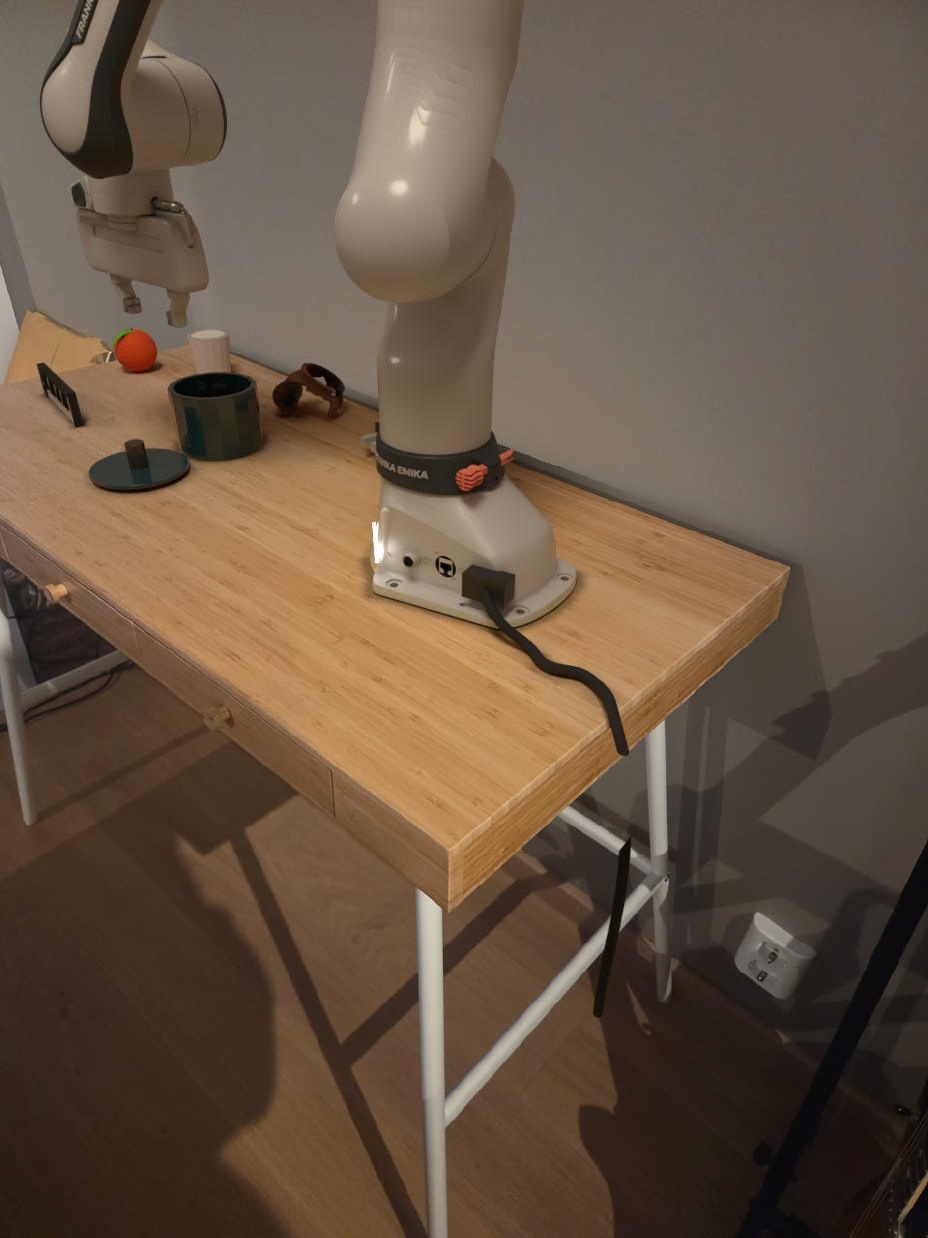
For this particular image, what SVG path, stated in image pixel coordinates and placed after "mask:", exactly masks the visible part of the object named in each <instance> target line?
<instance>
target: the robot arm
mask: <svg viewBox="0 0 928 1238" xmlns="http://www.w3.org/2000/svg"><path fill="white" fill-rule="evenodd" d="M165 2H166V0H78V1H77V3H76V6H75V10H74V13H73V16H72V19H71V21H70V24H69V27H68V28H67V29H66V33H65V37H64V40H63V42H62V45H61V46H60V47H59V49H58V51H57V52H56V54H55V55H54V57H53V59H52V60H51V62H50V64H49V66H48V68H47V70H46V72H45V74H44V77H43V80H42V84H41V87H40V93H39V111H40V117H41V121H42V125H43V128H44V130H45V133H46V135H47V137H48V139H49V141H50V142H51V144H52V145H53V146H54V147H55V148H56V150H57V151H58V152H59V153H60V155H62V157H63V158H65V160H67V161H68V162H69V163H70V164H71V165H72V166H73V167H75V168H76V169H78V170H79V171H81V172H82V173H83V174H85V175H84V176H83V177H81V178H80V179H78V180H76V181H75V182H73V183H71V184H70V185H69V186H68V187H67V192H68V197H69V201H70V203H71V204H72V206H73V207H76V208H77V209H76V213H75V214H76V216H75V217H76V223H77V228H78V233H79V236H80V241H81V245H82V249H83V251H84V255H85V258H86V261H87V262H88V263H89V265H90V267H91V268H92V270H95V271H98V272H101V273H105V274H109V277H110V282H111V284H112V286H113V288H114V290H115V292H116V293H117V295H118V297H119V298H120V303H121V307H122V311H123V312H124V313H125V314H130V315H135V314H141V312H142V310H143V308H142V306H141V304H142V302H141V298H140V297H138V296H137V295H136V292H135V290H134V287H133V285H132V283H131V282H133V281H134V282H135V281H136V282H138V283H143V284H147V285H151V286H154V287H158V288H162V289H165V290H166V295H167V298H168V299H170V306H169V310H166V311H165V315H166V319H167V324H168V326H170V327H172V328H177V329H181V328H185V327H187V326H188V324H189V323H188V322H189V321H188V316H187V311H188V306H189V302H190V299H191V294H192V293H196V292H201V291H205V290H207V289H208V285H209V284H210V283H209V282H210V274H209V268H208V262H207V258H206V253H205V250H204V246H203V241H202V237H201V234H200V232H199V229H198V227H197V225H196V223H195V222H194V219H193V217H192V215H191V214H189V212H188V211H187V209H186V208H185V206H184V204H183V203H181V202H179V201H177V200H175V197H174V191H173V185H172V178H171V172H170V171H171V170H170V169H174V168H183V167H192V166H193V167H195V166H200V165H202V164H205V163H208V162H212V161H214V160H215V159H216V158H217V157H218V156H219V155H220V153H221V151H222V149H223V148H224V145H225V142H226V138H227V134H228V114H227V113H228V112H227V108H226V104H225V99H224V96H223V94H222V92H221V89H220V87H219V86H218V84H217V81H216V80H215V79H214V78H213V76H212V75H211V74H210V72H208V70H207V69H205V67H203V66H202V65H200V64H199V63H196V62H191V61H189V60H186V59H184V58H182V57H180V56H177V55H176V54H173V53H172V52H169V51H168V50H167V49H165V48H163V47H161V46H160V45H158V44H157V43H156V42H154V41H153V40H152V39H151V38H150V35H151V33H152V30H153V27H154V25H155V22H156V20H157V18H158V14H159V12H160V10H161V8H162V6H163V5H164V3H165ZM376 5H377V6H376V26H375V43H374V51H373V53H374V54H373V60H372V66H371V72H370V78H369V83H368V88H367V89H368V90H367V95H366V100H365V105H364V109H363V114H362V118H361V119H362V120H361V123H360V128H359V135H358V140H357V145H356V149H355V156H354V161H353V165H352V170H351V173H350V177H349V180H348V183H347V185H346V187H345V190H344V192H343V194H342V196H341V197H340V200H339V201H338V205H337V207H336V211H335V215H334V222H333V238H334V239H333V240H334V245H335V249H336V253H337V256H338V259H339V261H340V264H341V266H342V268H343V270H344V271H345V273H346V274H347V276H348V277H349V278H350V280H351V281H352V282H353V283H354V285H356V287H358V288H359V289H360V290H361V291H362V292H363V293H365V294H367V295H368V296H369V297H372V298H373V299H376V300H378V301H381V302H385V303H387V305H388V306H387V311H386V317H385V323H384V327H383V330H382V331H383V332H382V335H381V339H380V341H379V344H378V347H377V353H376V379H377V381H376V382H377V397H378V398H377V400H378V401H377V402H378V422H379V426H380V430H379V431H378V433H377V435H376V450H375V453H374V455H375V456H374V457H375V462H376V471H377V473H378V475H380V488H379V489H380V490H379V501H378V504H379V505H378V514H377V522H376V521H375V522H374V521H373V522H372V532H373V533H372V534H373V545H372V549H371V552H370V555H369V564H370V567H371V569H372V571H373V573H374V574H373V576H372V585H371V586H372V587H371V589H372V592H373V593H375V594H377V595H379V596H382V597H387V598H390V599H392V600H396V601H400V602H404V603H407V604H410V605H413V606H417V607H420V608H424V609H427V610H431V611H434V612H438V613H441V614H445V615H447V616H451V617H455V618H458V619H461V620H464V621H468V622H471V623H475V624H478V625H482V626H485V627H489V628H493V629H497V630H500V631H501V632H502V633H503V634H504V635H505V636H506V637H508V638H509V639H510V640H511V641H513V642H514V643H515V644H517V645H518V646H519V647H520V648H521V649H522V650H524V651H525V652H526V653H527V654H528V655H529V657H530V658H531V659H532V660H533V662H534V663H535V664H536V665H537V666H538V667H540V668H541V669H543V670H545V671H547V672H549V673H551V674H555V675H560V676H565V677H571V678H575V679H579V680H581V681H583V682H584V683H585V684H586V685H588V686H589V687H590V688H592V689H593V690H594V691H595V692H596V694H598V696H599V697H600V698H601V701H602V702H603V704H604V707H605V711H606V714H607V719H608V723H609V727H610V731H611V734H612V738H613V741H614V745H615V750H616V753H617V754H618V755H620V756H621V757H628V756H629V755H630V749H629V748H630V747H629V745H628V741H627V738H626V733H625V729H624V727H623V722H622V719H621V714H620V711H619V706H618V704H617V701H616V698H615V695H614V694H613V692H612V691H611V689H610V688H609V686H608V685H607V684H606V683H605V682H603V680H601V679H600V678H599V677H598V676H596V675H595V674H593V673H592V672H591V671H589V670H587V669H585V668H582V667H579V666H576V665H571V664H565V663H559V662H556V661H553V660H550V659H548V658H547V657H546V656H545V655H544V654H543V653H542V651H541V650H540V649H539V648H538V647H537V646H536V644H535V643H533V642H532V641H531V640H530V639H529V638H528V637H526V636H525V635H524V634H522V633H521V632H520V631H519V630H518V629H516V627H520V626H523V625H527V624H529V623H531V622H533V621H536V620H538V619H540V618H542V617H543V616H545V615H546V614H548V613H549V612H551V611H552V610H554V609H555V608H556V607H558V606H559V605H560V604H561V603H563V602H564V601H565V600H566V599H567V598H568V597H569V596H570V595H571V593H572V592H573V591H574V588H575V586H576V584H577V567H576V566H575V565H573V564H572V563H570V562H569V561H567V560H564V559H563V558H560V556H557V543H556V536H555V531H554V528H553V526H552V524H551V522H550V520H549V519H548V518H547V517H546V516H544V515H543V514H542V512H540V511H539V510H538V508H537V507H536V506H535V505H534V504H533V503H532V502H531V500H529V499H528V497H527V496H525V494H524V493H523V492H522V491H521V490H520V489H519V487H517V486H516V485H515V483H513V481H512V480H511V479H510V478H509V477H508V476H507V475H506V467H505V465H506V464H509V463H510V462H511V461H513V460H514V457H511V456H512V455H513V453H514V452H515V449H514V448H511V449H508V450H506V451H505V452H503V453H501V451H500V448H499V444H498V441H497V437H496V436H495V433H494V432H493V429H492V424H493V423H492V422H493V420H492V419H493V397H494V395H493V393H494V372H495V371H494V366H495V355H496V344H497V338H498V330H499V326H500V320H501V315H502V309H503V308H502V307H503V301H504V293H505V287H506V280H507V271H508V264H509V255H510V248H511V247H510V245H511V237H512V231H513V227H514V226H513V225H514V221H515V214H516V193H515V190H514V186H513V183H512V180H511V178H510V176H509V174H508V172H507V171H506V169H505V168H504V167H503V165H502V164H501V163H500V162H499V161H498V160H497V159H496V158H495V157H493V154H494V152H495V151H494V150H495V145H496V142H497V138H498V133H499V129H500V125H501V122H502V117H503V112H504V108H505V104H506V101H507V98H508V94H509V90H510V87H511V84H512V82H513V80H514V77H515V74H516V70H517V66H518V59H519V50H520V43H521V32H522V24H523V17H524V8H525V0H377V4H376ZM376 523H377V524H376ZM632 837H633V835H630V836H629V837H628V838H627V840H626V841H625V843H624V844H622V846H621V847H620V849H619V850H618V858H617V868H616V869H617V870H616V878H615V886H614V894H613V900H612V907H611V913H610V918H609V923H608V928H607V934H606V939H605V943H604V948H603V953H602V958H601V962H600V968H599V972H598V976H597V978H598V979H597V983H596V988H595V995H594V1002H593V1008H592V1015H593V1016H594V1017H595V1018H598V1019H599V1018H602V1016H603V1015H604V1009H605V1003H606V997H607V992H608V986H609V981H610V976H611V971H612V967H613V961H614V957H615V953H616V948H617V944H618V940H619V939H618V938H619V935H620V934H619V933H620V930H621V924H622V920H623V915H624V910H625V904H626V897H627V890H628V884H629V876H630V865H631V854H632Z"/></svg>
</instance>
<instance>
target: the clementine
mask: <svg viewBox="0 0 928 1238" xmlns="http://www.w3.org/2000/svg"><path fill="white" fill-rule="evenodd" d="M112 350H113V352H114V357H115V359H116V360H117V362H118V363H119V364H120V365H121V366H122V367H124V368H125V369H127V370H129V371H132V372H143V371H146V370H148V369H150V368H152V366H154V364H155V362H156V361H157V358H158V348H157V345H156V342H155V340H154V339H153V338H152V336H150V334H148V333H147V332H145V331H143V330H141V329H137V328H130V329H125V330H123V331H120V333H118V334H117V335H116V336H115V338H114V340H113V343H112Z"/></svg>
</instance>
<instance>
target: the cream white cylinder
mask: <svg viewBox="0 0 928 1238" xmlns="http://www.w3.org/2000/svg"><path fill="white" fill-rule="evenodd" d="M186 340H187V343H188V347H189V351H190V354H191V359H192V362H193V366H194V370H195V374H201V373H209V372H231V373H232V366H231V363H232V362H231V347H230V346H231V345H230V332H229V331H227V330H224V329H213V328H212V329H211V328H210V329H200V330H199V329H198V330H195V331H191V332H189V333H187V334H186Z"/></svg>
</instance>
